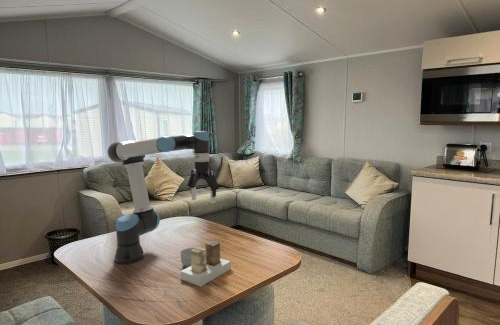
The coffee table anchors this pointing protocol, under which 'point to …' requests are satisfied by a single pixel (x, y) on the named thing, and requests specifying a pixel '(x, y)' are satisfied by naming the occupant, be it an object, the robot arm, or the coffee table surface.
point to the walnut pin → (212, 253)
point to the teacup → (186, 257)
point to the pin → (198, 260)
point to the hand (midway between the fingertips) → (203, 201)
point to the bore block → (205, 273)
